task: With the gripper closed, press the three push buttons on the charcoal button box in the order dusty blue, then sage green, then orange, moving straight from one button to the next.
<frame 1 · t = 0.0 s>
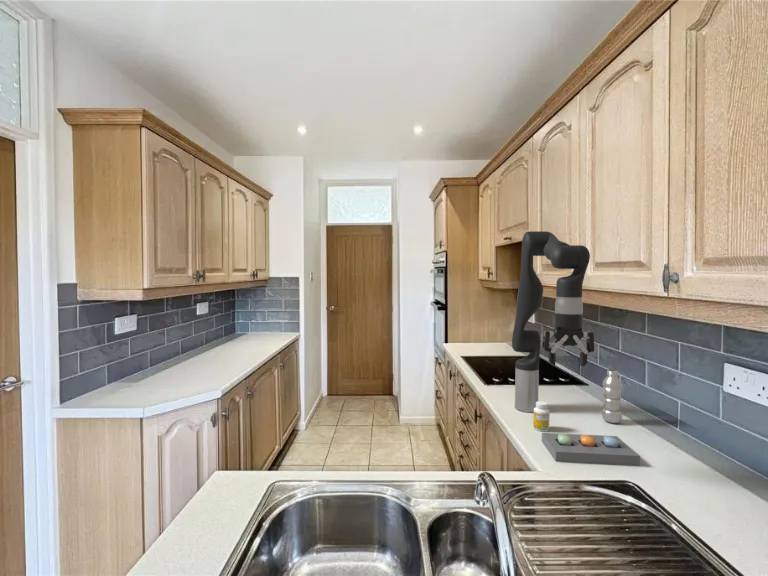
hand: (567, 365, 117), 29 cm above the countertop, tool pointing down, fingers open, 8 cm apart
button box: (587, 452, 123), on the countertop
supplement bottle: (541, 429, 142), on the countertop
green button: (564, 440, 123), point 4 cm above the countertop, slide at 0.0 cm
plastic bottle: (611, 422, 148), on the countertop
orange button: (587, 441, 123), point 4 cm above the countertop, slide at 0.0 cm
blue button: (611, 442, 122), point 4 cm above the countertop, slide at 0.0 cm
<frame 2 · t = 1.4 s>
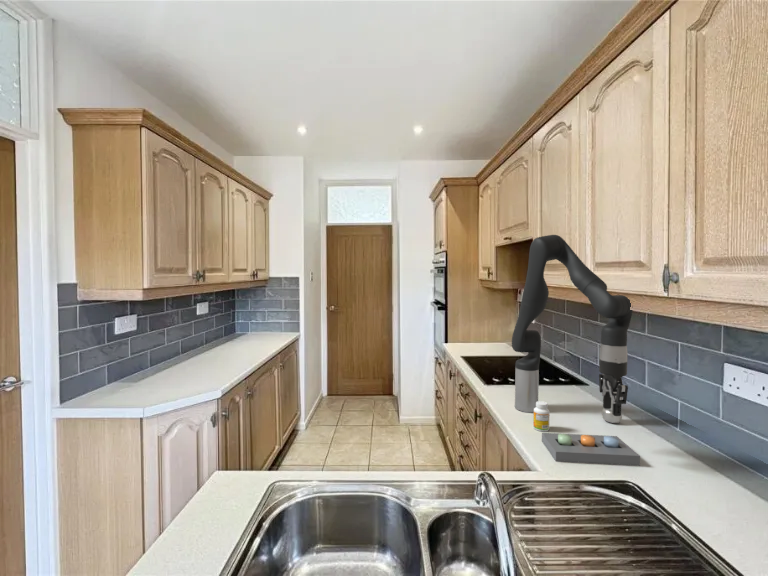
hand: (611, 411, 121), 14 cm above the countertop, tool pointing down, fingers open, 5 cm apart
nothing on the countertop moved.
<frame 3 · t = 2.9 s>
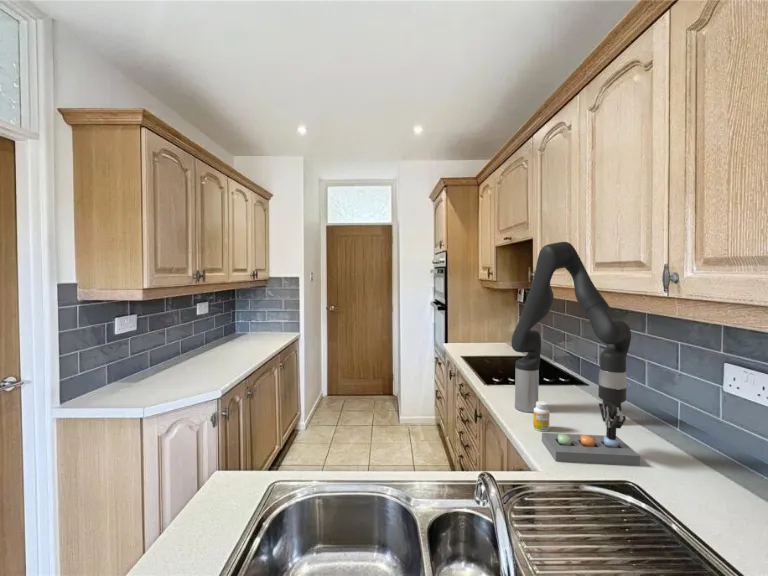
hand: (611, 438, 122), 5 cm above the countertop, tool pointing down, fingers closed
blue button: (611, 442, 122), point 4 cm above the countertop, slide at 0.0 cm, touching gripper
everything else where it was.
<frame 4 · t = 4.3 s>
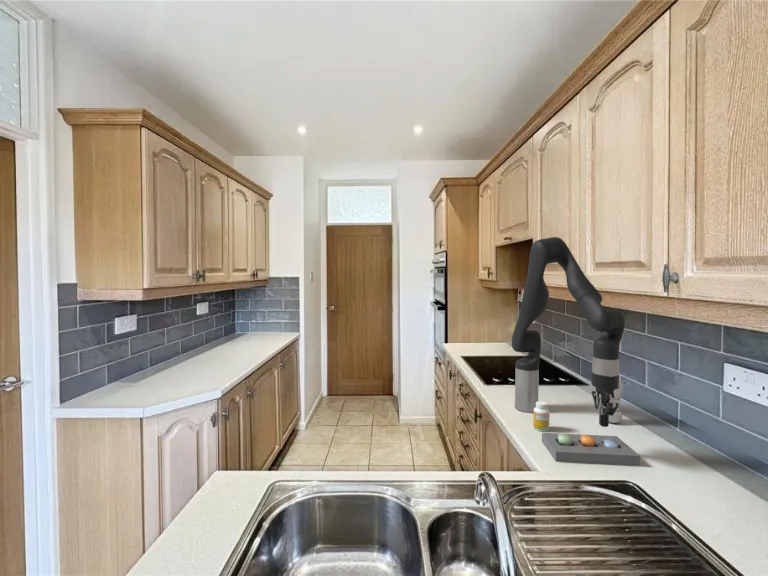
hand: (603, 425, 122), 9 cm above the countertop, tool pointing down, fingers closed
blue button: (610, 446, 122), point 2 cm above the countertop, slide at 1.3 cm
everything else where it was.
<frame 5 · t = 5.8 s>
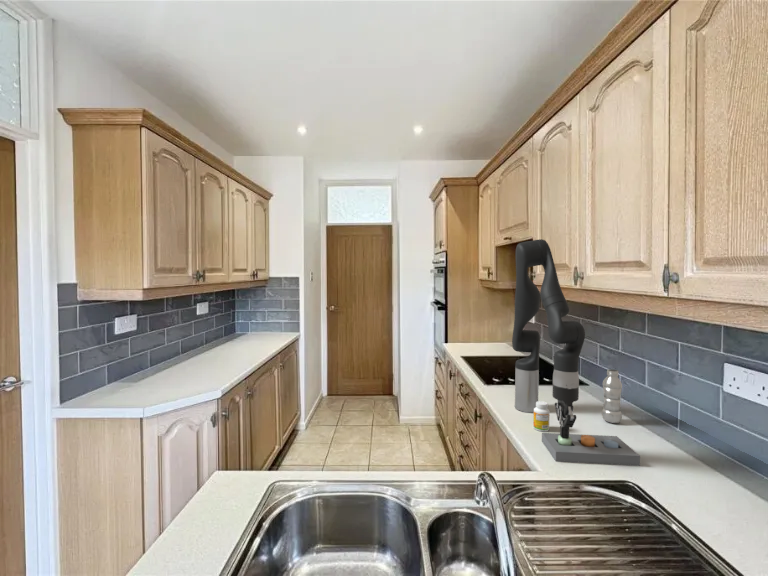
hand: (564, 437, 123), 5 cm above the countertop, tool pointing down, fingers closed
green button: (564, 441, 123), point 3 cm above the countertop, slide at 0.4 cm, touching gripper
everything else where it was.
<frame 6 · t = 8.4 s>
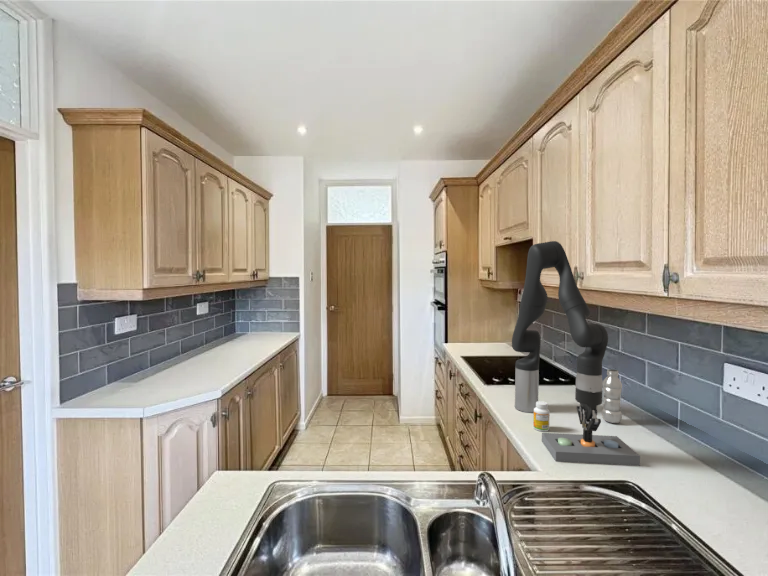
hand: (587, 441, 122), 4 cm above the countertop, tool pointing down, fingers closed
green button: (564, 444, 123), point 2 cm above the countertop, slide at 1.3 cm
orange button: (587, 444, 123), point 3 cm above the countertop, slide at 1.2 cm, touching gripper
everything else where it was.
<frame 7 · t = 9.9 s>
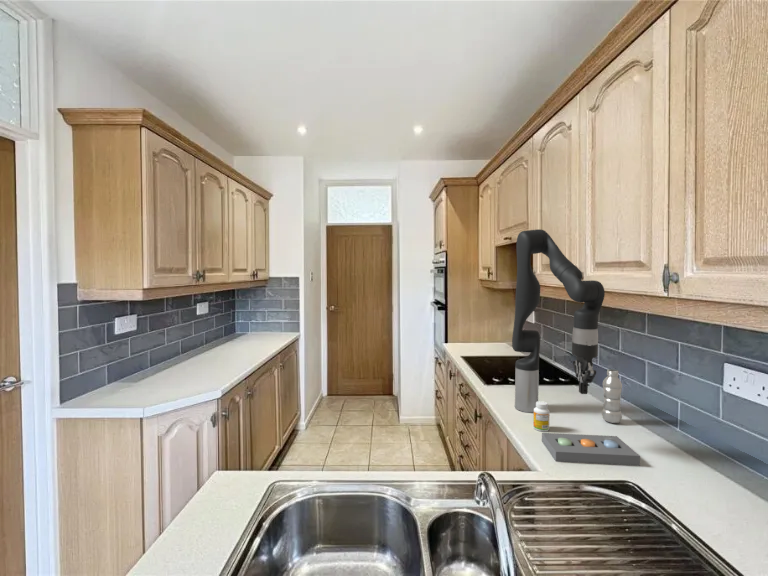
hand: (583, 393, 127), 18 cm above the countertop, tool pointing down, fingers closed
orange button: (587, 445, 123), point 2 cm above the countertop, slide at 1.3 cm
everything else where it was.
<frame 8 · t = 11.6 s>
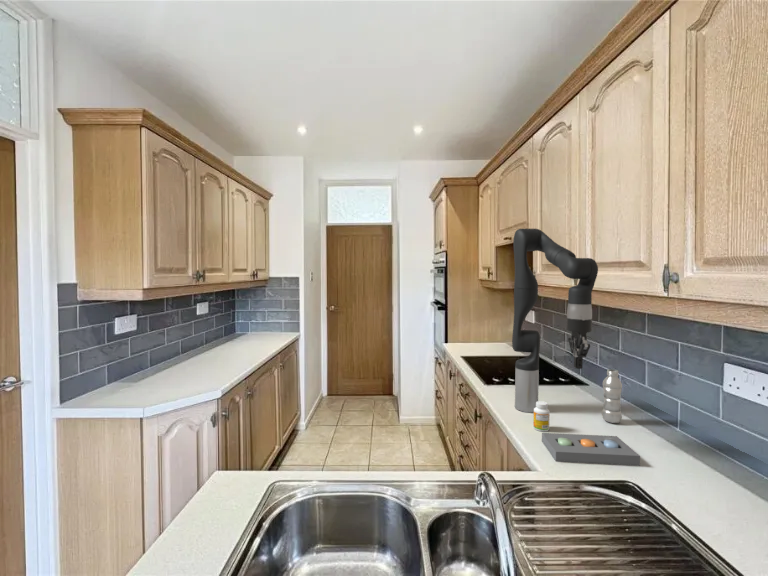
hand: (578, 368, 131), 25 cm above the countertop, tool pointing down, fingers closed
nothing on the countertop moved.
at the end: blue button slide at 1.3 cm; green button slide at 1.3 cm; orange button slide at 1.3 cm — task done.
